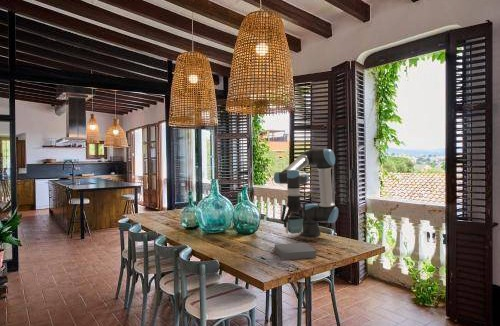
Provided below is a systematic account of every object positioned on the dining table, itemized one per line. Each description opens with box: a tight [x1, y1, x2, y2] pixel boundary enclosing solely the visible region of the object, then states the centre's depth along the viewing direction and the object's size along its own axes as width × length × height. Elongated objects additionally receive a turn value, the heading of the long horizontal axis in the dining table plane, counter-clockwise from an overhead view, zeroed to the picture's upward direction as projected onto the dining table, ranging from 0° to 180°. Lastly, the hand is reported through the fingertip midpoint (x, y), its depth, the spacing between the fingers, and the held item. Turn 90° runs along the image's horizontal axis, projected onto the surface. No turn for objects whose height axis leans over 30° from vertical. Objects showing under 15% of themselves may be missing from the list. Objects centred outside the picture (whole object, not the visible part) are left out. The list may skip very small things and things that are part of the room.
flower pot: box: [287, 216, 303, 235], centre depth 206 cm, size 9×9×9 cm
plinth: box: [274, 242, 317, 261], centre depth 206 cm, size 20×20×4 cm
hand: (294, 232), depth 206 cm, fingers closed on flower pot, 9 cm apart
